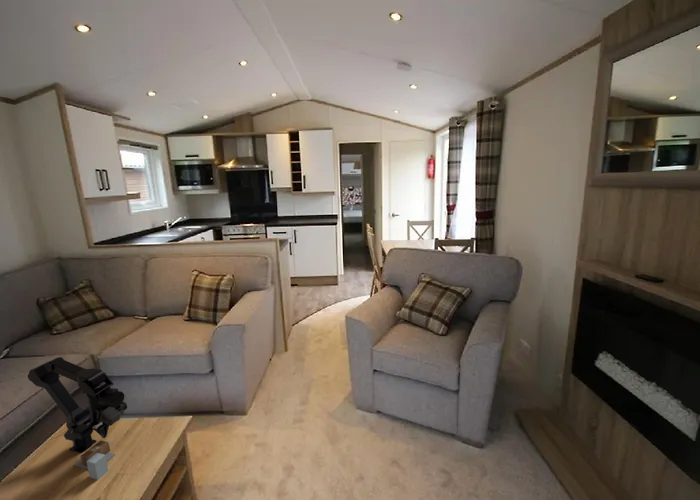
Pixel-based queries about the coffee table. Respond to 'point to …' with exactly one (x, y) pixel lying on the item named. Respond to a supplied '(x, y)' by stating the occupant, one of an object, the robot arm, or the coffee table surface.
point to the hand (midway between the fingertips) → (104, 437)
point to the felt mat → (79, 464)
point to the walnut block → (95, 451)
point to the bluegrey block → (97, 466)
